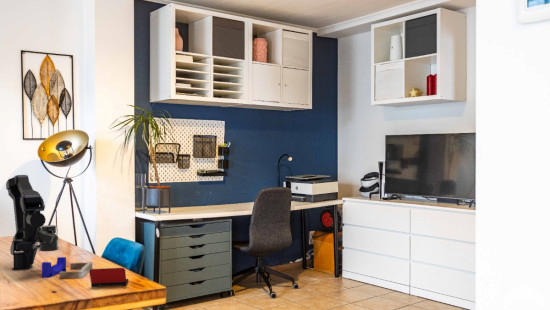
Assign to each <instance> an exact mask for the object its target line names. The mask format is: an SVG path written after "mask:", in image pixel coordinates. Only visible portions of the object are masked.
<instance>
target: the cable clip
mask: <svg viewBox="0 0 550 310" xmlns="http://www.w3.org/2000/svg"><path fill="white" fill-rule="evenodd" d="M59 272H67V257H63V256H59V257H57V258H56V264H53V265H52V262H50V261H43V262H41V278H43V279H44V278H45V279H47V278H49V279H50V278H52V277H55V276H57V275H58V276H59Z"/></svg>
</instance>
